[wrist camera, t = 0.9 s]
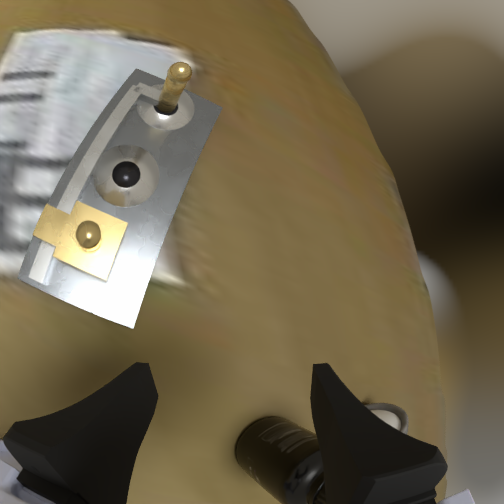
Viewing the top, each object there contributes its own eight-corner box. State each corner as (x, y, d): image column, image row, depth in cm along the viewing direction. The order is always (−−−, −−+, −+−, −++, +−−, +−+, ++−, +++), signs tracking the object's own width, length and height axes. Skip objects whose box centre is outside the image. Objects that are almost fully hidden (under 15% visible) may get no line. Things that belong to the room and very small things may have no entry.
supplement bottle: (224, 469, 22) (296, 539, 12) (247, 409, 24) (336, 459, 14) (281, 474, 24) (361, 524, 14) (303, 420, 27) (394, 455, 16)
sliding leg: (106, 282, 20) (105, 277, 16) (33, 249, 17) (16, 236, 13) (125, 232, 21) (129, 216, 17) (54, 201, 18) (44, 178, 15)
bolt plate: (132, 327, 21) (140, 337, 15) (21, 279, 18) (-10, 269, 11) (218, 114, 28) (248, 72, 22) (134, 75, 24) (148, 26, 18)
